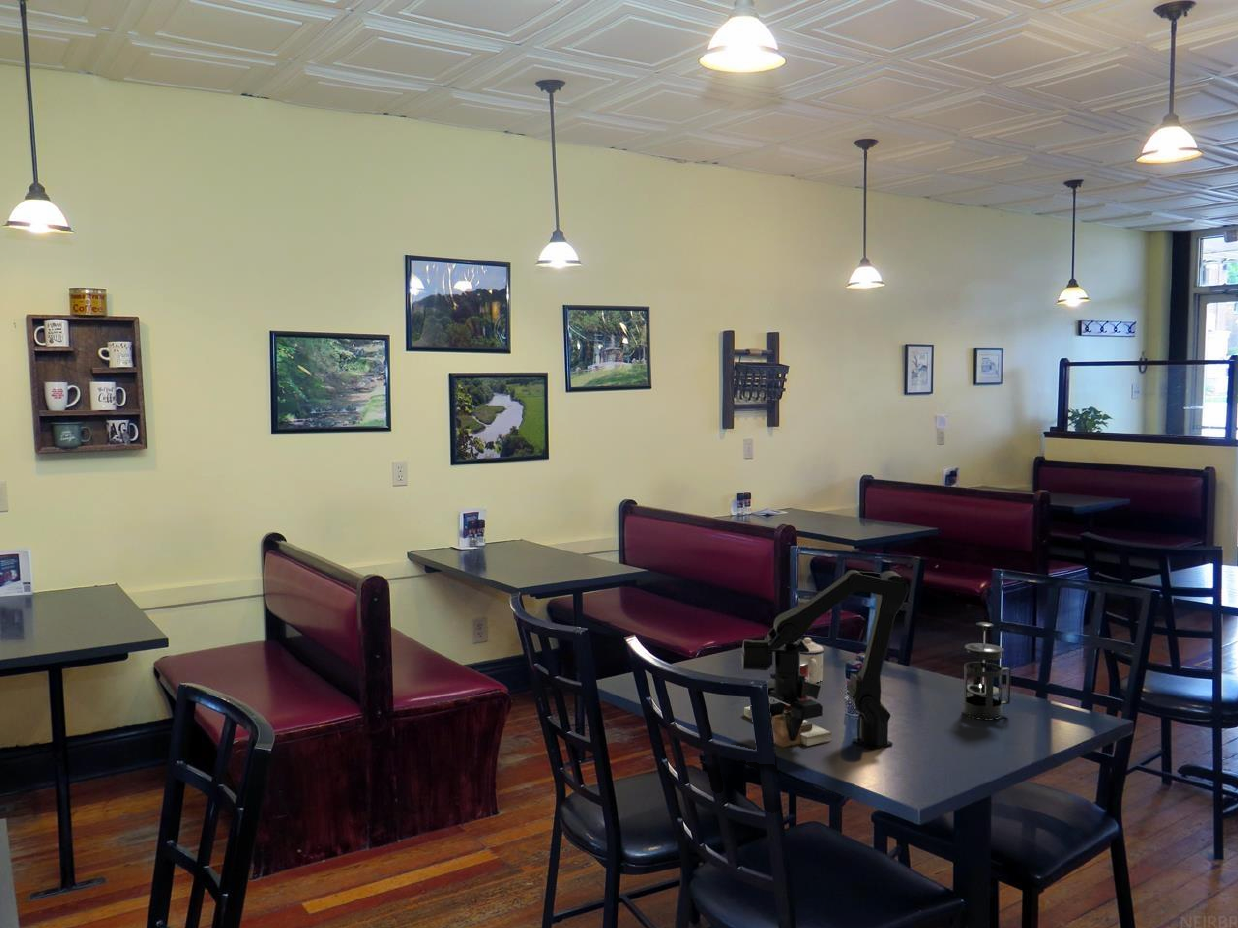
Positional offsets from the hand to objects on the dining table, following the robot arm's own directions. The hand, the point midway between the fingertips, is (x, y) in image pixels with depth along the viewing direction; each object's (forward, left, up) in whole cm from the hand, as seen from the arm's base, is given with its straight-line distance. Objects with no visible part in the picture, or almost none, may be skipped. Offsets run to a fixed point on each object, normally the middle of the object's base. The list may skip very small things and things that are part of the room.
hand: (786, 737), depth 220 cm
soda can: (+18, -17, -1) cm, 25 cm away
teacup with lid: (+35, -36, -1) cm, 50 cm away
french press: (-8, -56, -1) cm, 56 cm away
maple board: (+8, -6, -1) cm, 10 cm away
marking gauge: (0, -2, -1) cm, 3 cm away
